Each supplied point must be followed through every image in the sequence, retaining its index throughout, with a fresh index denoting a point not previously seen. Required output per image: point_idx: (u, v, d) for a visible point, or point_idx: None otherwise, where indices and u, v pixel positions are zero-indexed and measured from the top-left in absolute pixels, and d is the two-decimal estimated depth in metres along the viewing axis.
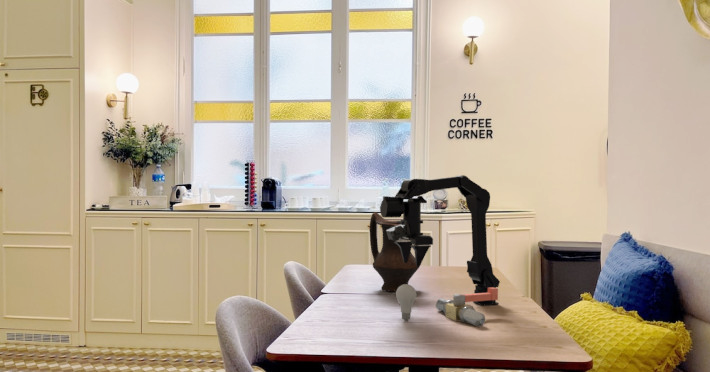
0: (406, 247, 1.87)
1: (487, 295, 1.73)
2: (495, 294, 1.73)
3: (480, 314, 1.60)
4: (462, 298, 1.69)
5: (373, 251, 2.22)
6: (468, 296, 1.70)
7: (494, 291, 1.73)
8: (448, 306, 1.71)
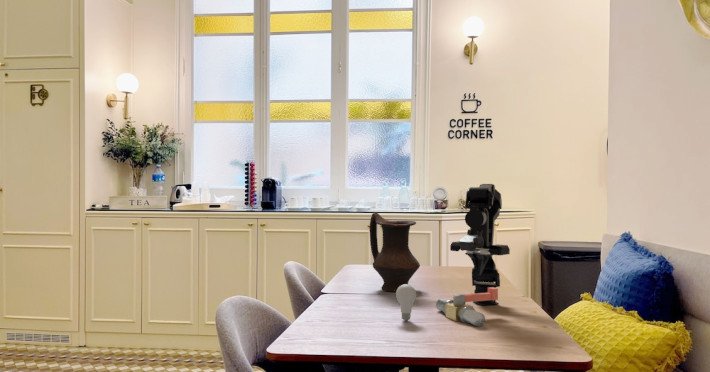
0: None
1: (487, 295, 1.73)
2: (495, 294, 1.73)
3: (480, 314, 1.60)
4: (462, 298, 1.69)
5: (373, 251, 2.22)
6: (468, 296, 1.70)
7: (494, 291, 1.73)
8: (448, 306, 1.71)
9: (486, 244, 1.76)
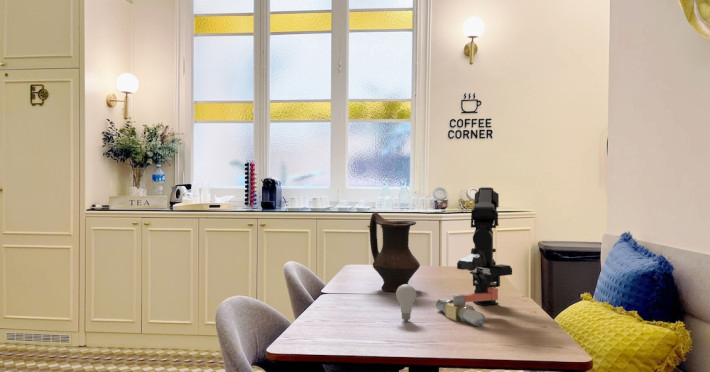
0: None
1: (487, 295, 1.73)
2: (495, 294, 1.73)
3: (480, 314, 1.60)
4: (462, 298, 1.69)
5: (373, 251, 2.22)
6: (468, 296, 1.70)
7: (494, 291, 1.73)
8: (448, 306, 1.71)
9: (489, 264, 1.74)
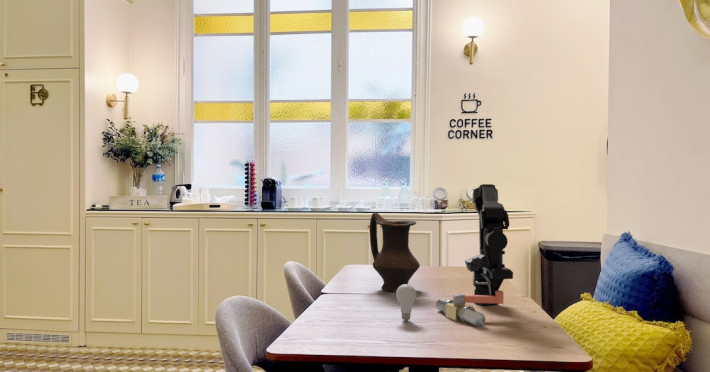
0: None
1: (491, 298, 1.68)
2: (500, 298, 1.68)
3: (480, 314, 1.60)
4: (459, 298, 1.69)
5: (373, 251, 2.22)
6: (468, 297, 1.69)
7: (499, 294, 1.68)
8: (448, 306, 1.71)
9: (495, 266, 1.69)
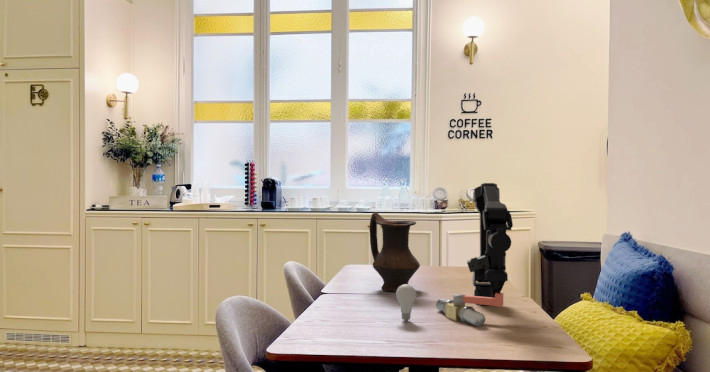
0: None
1: (489, 300, 1.66)
2: (498, 300, 1.64)
3: (480, 314, 1.60)
4: (458, 298, 1.69)
5: (373, 251, 2.22)
6: (467, 297, 1.68)
7: (497, 297, 1.64)
8: (448, 306, 1.71)
9: (495, 267, 1.66)
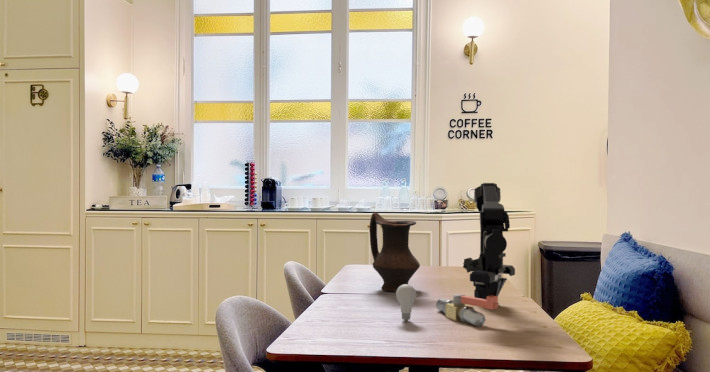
0: None
1: (482, 302, 1.63)
2: (489, 303, 1.60)
3: (480, 314, 1.60)
4: (455, 298, 1.69)
5: (373, 251, 2.22)
6: (464, 298, 1.68)
7: (488, 299, 1.61)
8: (448, 306, 1.71)
9: (488, 269, 1.62)
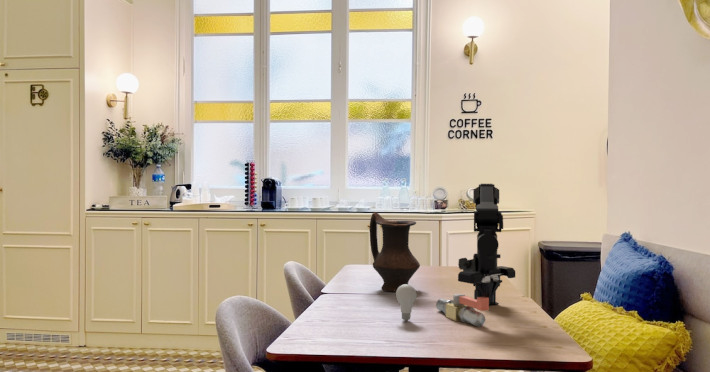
0: None
1: (474, 302, 1.61)
2: (479, 304, 1.59)
3: (480, 314, 1.60)
4: (454, 297, 1.70)
5: (373, 251, 2.22)
6: (461, 298, 1.68)
7: (478, 300, 1.59)
8: (448, 306, 1.71)
9: (479, 270, 1.60)
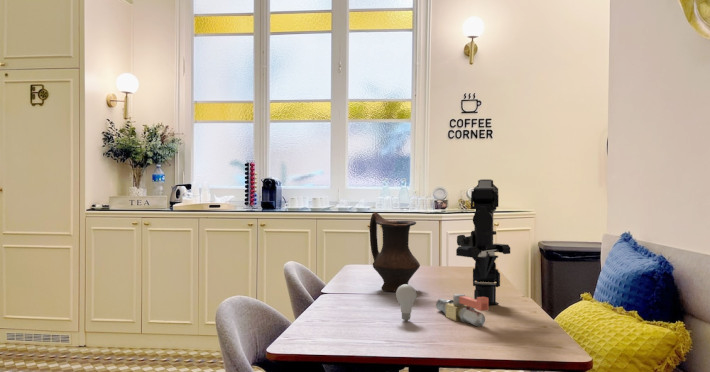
0: None
1: (474, 302, 1.61)
2: (479, 304, 1.59)
3: (480, 314, 1.60)
4: (454, 297, 1.70)
5: (373, 251, 2.22)
6: (461, 298, 1.68)
7: (478, 300, 1.59)
8: (448, 306, 1.71)
9: (476, 246, 1.71)
